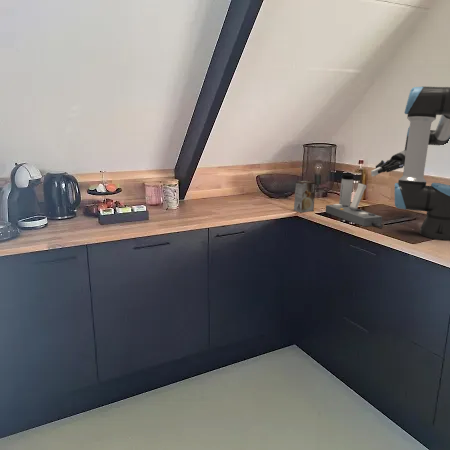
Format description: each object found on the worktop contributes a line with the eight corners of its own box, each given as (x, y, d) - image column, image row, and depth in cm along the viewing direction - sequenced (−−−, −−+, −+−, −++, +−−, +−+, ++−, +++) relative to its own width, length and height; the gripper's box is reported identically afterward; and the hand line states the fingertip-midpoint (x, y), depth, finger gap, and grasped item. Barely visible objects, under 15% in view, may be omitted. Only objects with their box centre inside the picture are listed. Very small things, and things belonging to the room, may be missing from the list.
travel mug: (349, 206, 246) (353, 172, 240) (350, 209, 240) (354, 174, 234) (338, 205, 247) (342, 171, 242) (338, 208, 241) (342, 173, 236)
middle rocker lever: (356, 211, 216) (366, 185, 215) (353, 210, 215) (364, 184, 214) (351, 209, 220) (361, 184, 218) (348, 208, 219) (358, 183, 217)
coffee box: (305, 208, 237) (308, 180, 233) (313, 211, 232) (316, 182, 228) (293, 210, 232) (295, 181, 228) (301, 212, 227) (303, 183, 223)
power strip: (390, 227, 203) (391, 217, 201) (372, 229, 198) (373, 218, 197) (341, 211, 234) (342, 201, 233) (325, 212, 230) (326, 203, 229)
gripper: (412, 167, 219) (384, 182, 207) (390, 165, 229) (362, 179, 218) (411, 153, 216) (383, 167, 205) (389, 151, 226) (361, 165, 215)
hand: (372, 173), depth 211 cm, fingers closed
